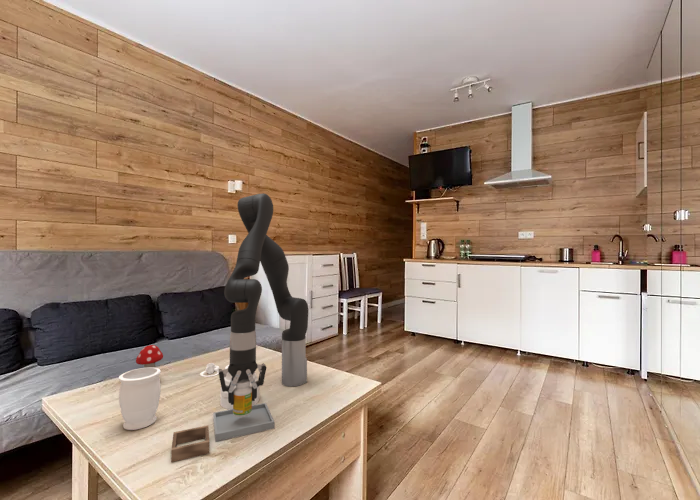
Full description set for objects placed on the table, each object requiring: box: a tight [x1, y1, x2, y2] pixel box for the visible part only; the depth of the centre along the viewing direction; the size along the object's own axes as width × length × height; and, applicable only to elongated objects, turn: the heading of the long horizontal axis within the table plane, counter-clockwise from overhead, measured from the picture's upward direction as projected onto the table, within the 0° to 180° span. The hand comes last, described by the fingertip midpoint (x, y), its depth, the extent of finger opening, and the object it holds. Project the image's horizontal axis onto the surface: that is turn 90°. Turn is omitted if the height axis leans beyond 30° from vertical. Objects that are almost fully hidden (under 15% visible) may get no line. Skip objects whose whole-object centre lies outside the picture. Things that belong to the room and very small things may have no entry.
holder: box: [170, 424, 210, 463], centre depth 87 cm, size 9×9×3 cm
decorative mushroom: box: [135, 344, 164, 368], centre depth 127 cm, size 10×9×15 cm
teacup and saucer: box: [199, 362, 220, 378], centre depth 139 cm, size 9×8×4 cm
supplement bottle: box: [233, 380, 252, 417], centre depth 99 cm, size 5×5×10 cm
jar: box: [118, 367, 162, 431], centre depth 99 cm, size 11×10×15 cm
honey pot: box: [219, 364, 261, 410], centre depth 114 cm, size 13×13×18 cm
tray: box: [212, 402, 275, 443], centre depth 99 cm, size 16×13×2 cm
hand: (242, 401), depth 99 cm, fingers closed on supplement bottle, 5 cm apart
